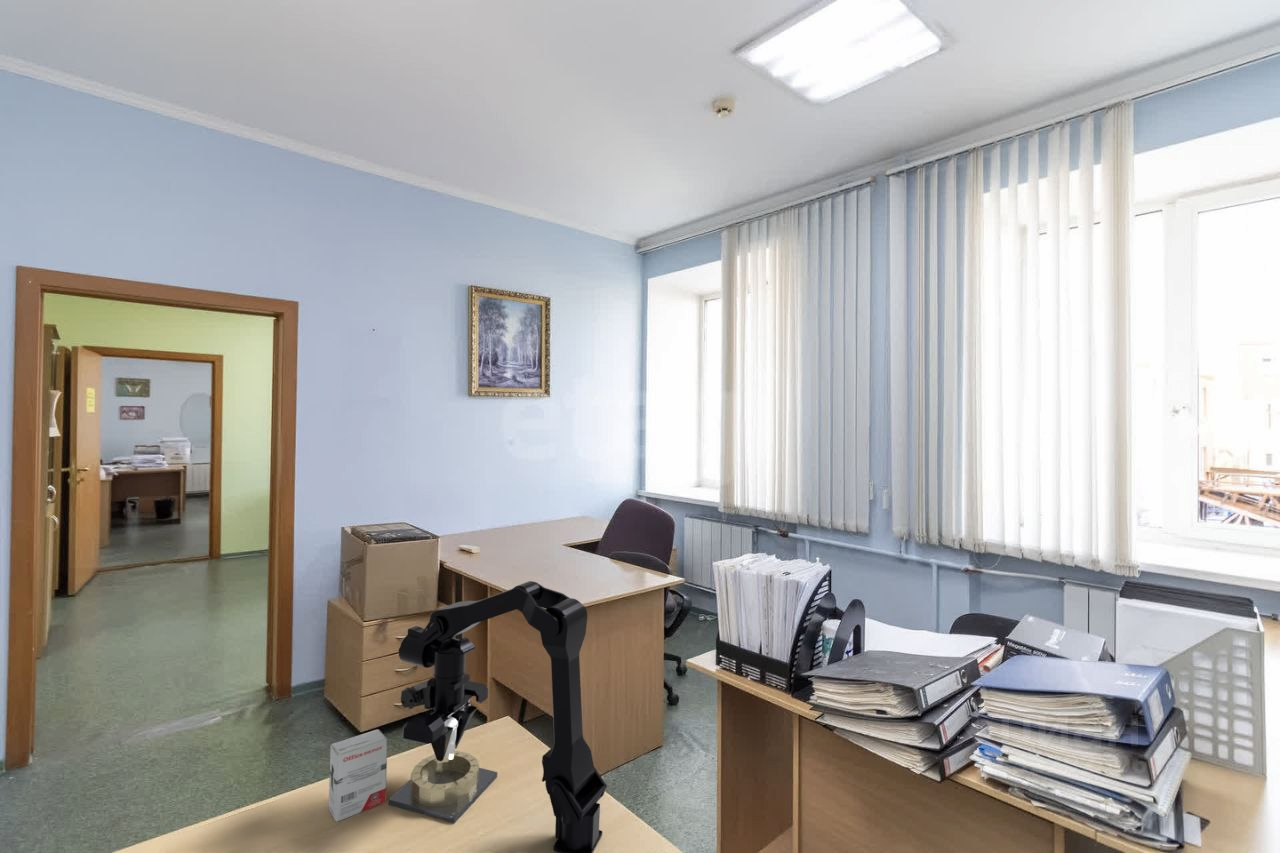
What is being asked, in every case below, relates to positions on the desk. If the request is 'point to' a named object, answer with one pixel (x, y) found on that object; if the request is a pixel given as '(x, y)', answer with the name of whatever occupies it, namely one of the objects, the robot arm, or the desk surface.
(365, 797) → the ink box
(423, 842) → the desk surface
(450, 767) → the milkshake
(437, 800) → the collar station
